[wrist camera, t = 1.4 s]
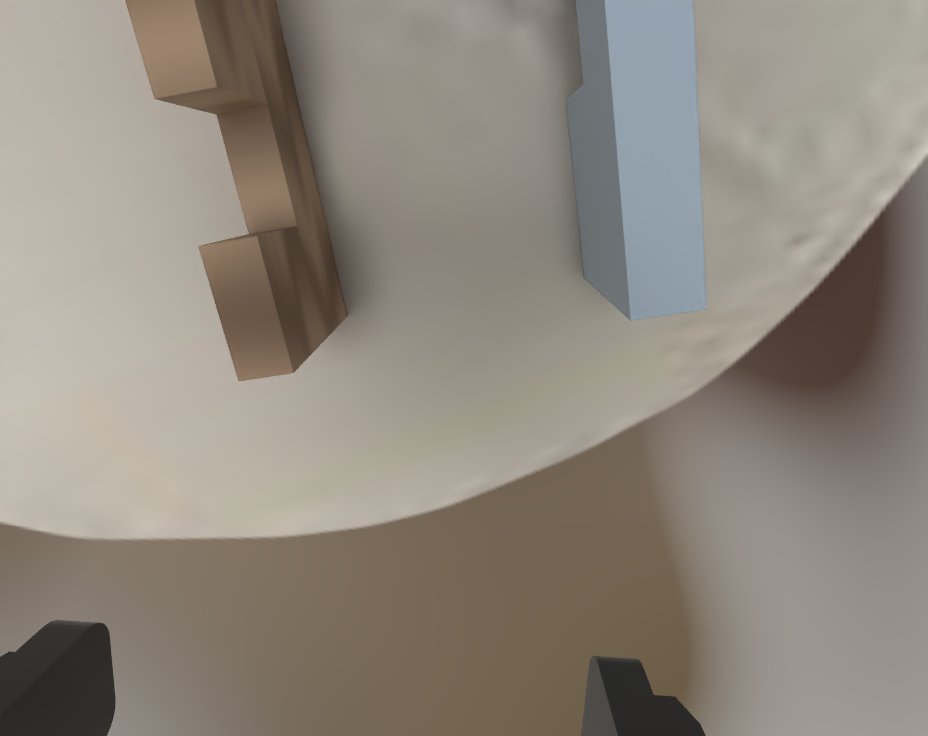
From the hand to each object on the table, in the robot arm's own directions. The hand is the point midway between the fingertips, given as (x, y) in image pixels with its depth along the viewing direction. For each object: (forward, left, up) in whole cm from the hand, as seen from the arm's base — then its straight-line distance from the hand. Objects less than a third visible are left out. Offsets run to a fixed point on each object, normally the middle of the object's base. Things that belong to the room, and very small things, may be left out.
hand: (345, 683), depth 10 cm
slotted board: (-11, -5, -21) cm, 24 cm away
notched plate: (-12, +9, -21) cm, 26 cm away
